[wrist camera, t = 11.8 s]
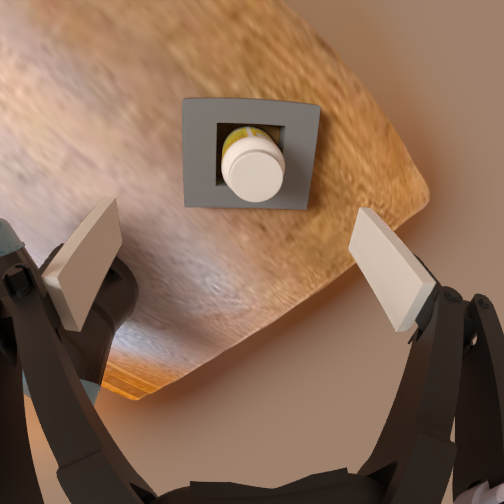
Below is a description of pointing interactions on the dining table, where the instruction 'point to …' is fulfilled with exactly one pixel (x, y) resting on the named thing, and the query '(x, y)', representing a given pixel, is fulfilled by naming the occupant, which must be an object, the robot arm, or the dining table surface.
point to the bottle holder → (253, 112)
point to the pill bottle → (252, 164)
